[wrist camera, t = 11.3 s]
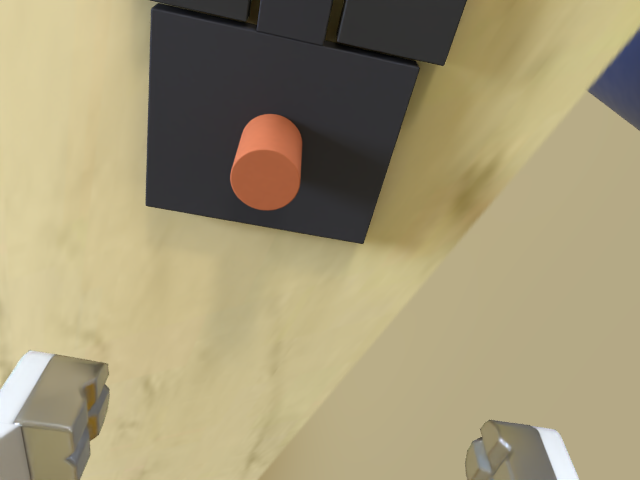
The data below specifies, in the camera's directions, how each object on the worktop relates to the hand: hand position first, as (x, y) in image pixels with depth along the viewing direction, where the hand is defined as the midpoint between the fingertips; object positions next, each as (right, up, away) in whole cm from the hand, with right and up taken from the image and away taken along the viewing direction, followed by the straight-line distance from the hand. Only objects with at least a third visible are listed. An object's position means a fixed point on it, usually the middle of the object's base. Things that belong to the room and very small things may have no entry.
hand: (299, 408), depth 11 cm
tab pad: (-2, +10, +15) cm, 18 cm away
